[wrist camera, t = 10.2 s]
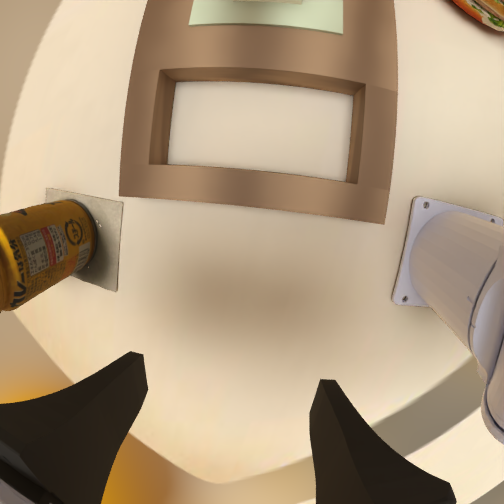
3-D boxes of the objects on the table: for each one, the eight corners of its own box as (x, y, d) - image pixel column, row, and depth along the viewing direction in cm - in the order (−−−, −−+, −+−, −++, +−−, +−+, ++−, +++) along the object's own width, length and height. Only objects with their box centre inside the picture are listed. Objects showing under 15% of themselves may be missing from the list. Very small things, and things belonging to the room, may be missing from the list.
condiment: (47, 187, 20) (-65, 214, 9) (124, 202, 20) (-4, 243, 8) (46, 265, 22) (-47, 319, 11) (118, 290, 22) (22, 375, 11)
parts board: (377, -23, 13) (388, -44, 10) (369, 216, 18) (386, 225, 15) (177, -35, 14) (164, -55, 11) (140, 191, 19) (116, 196, 16)
